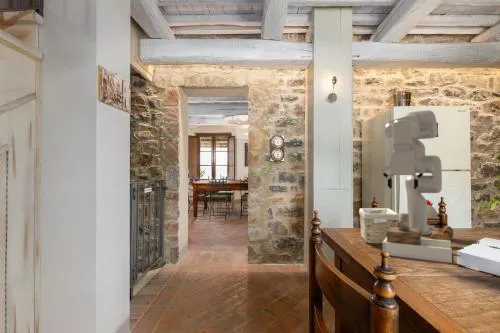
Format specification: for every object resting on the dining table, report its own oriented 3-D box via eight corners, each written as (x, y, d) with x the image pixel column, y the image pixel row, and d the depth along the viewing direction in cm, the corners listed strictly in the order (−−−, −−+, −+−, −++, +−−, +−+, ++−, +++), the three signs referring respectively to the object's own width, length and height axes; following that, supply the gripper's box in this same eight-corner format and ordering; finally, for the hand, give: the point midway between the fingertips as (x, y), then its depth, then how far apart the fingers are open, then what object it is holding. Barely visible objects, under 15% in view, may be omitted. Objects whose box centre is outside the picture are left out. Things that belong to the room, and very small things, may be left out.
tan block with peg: (386, 250, 134) (386, 214, 134) (390, 244, 144) (390, 211, 144) (419, 254, 127) (419, 216, 127) (421, 247, 138) (420, 212, 138)
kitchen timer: (410, 221, 211) (410, 199, 211) (428, 220, 214) (427, 198, 214) (426, 225, 198) (426, 201, 198) (445, 224, 201) (444, 200, 201)
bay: (382, 254, 132) (382, 242, 132) (388, 245, 147) (388, 234, 147) (452, 262, 120) (451, 249, 120) (450, 252, 134) (450, 240, 134)
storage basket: (358, 234, 174) (358, 207, 174) (390, 235, 170) (390, 207, 170) (363, 244, 151) (363, 213, 151) (400, 245, 147) (400, 214, 147)
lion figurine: (445, 243, 149) (445, 224, 150) (456, 246, 145) (456, 226, 145) (424, 247, 143) (424, 227, 143) (436, 250, 138) (435, 229, 138)
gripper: (425, 148, 135) (426, 188, 135) (382, 150, 144) (382, 187, 144) (424, 147, 129) (425, 189, 128) (379, 149, 138) (379, 188, 137)
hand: (402, 188), depth 136 cm, fingers open, 9 cm apart
